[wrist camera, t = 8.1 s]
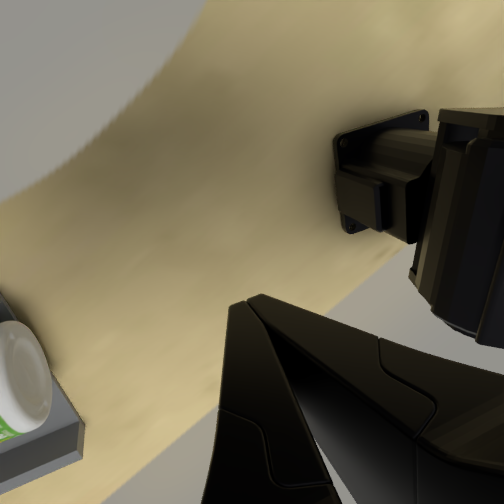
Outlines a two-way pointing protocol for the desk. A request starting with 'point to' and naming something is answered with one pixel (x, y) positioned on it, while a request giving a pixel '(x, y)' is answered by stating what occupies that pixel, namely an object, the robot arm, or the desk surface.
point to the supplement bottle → (22, 381)
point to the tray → (41, 437)
